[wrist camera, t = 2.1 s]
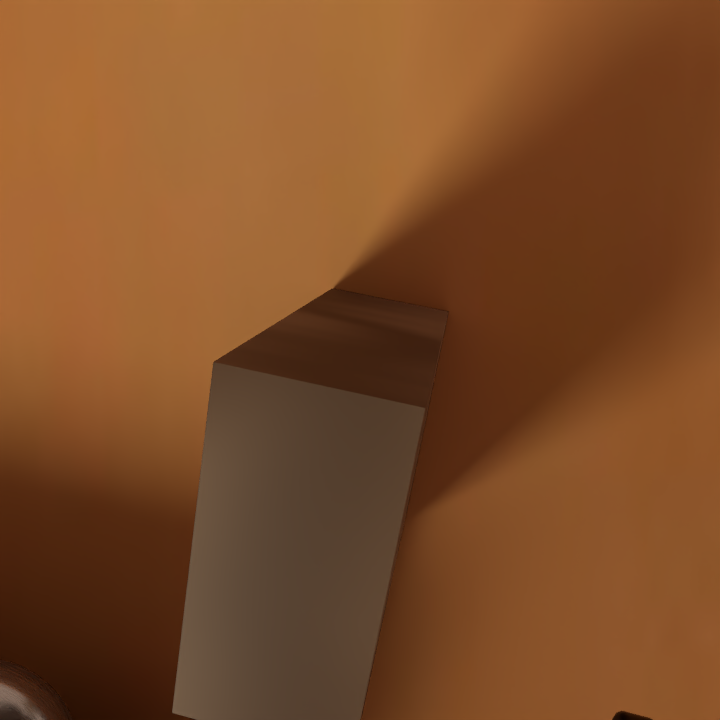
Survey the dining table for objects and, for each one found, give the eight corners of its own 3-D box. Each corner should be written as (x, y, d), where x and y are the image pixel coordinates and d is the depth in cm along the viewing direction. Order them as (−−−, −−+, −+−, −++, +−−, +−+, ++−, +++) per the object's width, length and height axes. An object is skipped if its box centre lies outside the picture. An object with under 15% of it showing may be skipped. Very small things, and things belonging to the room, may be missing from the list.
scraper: (244, 831, 22) (116, 1180, 14) (332, 288, 17) (213, 362, 9) (333, 859, 21) (253, 1231, 14) (448, 311, 17) (424, 407, 9)
